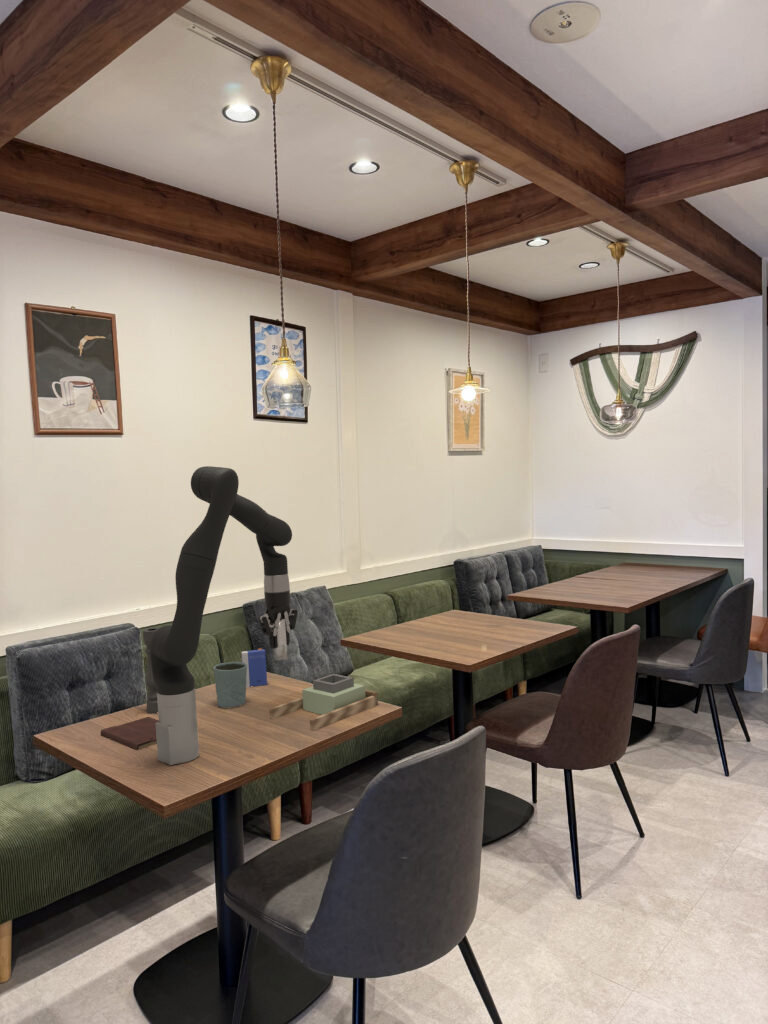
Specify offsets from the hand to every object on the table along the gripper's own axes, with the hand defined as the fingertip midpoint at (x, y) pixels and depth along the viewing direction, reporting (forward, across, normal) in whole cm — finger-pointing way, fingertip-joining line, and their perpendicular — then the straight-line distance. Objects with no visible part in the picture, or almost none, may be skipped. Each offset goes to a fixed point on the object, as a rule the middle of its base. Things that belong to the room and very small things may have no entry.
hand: (280, 646), depth 218 cm
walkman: (+19, +12, +28) cm, 36 cm away
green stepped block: (+18, +7, -15) cm, 24 cm away
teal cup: (+19, -5, +18) cm, 27 cm away
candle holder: (+19, -22, +33) cm, 44 cm away
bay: (+19, +3, -15) cm, 24 cm away
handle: (+4, 0, 0) cm, 4 cm away
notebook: (+20, -36, +17) cm, 45 cm away
